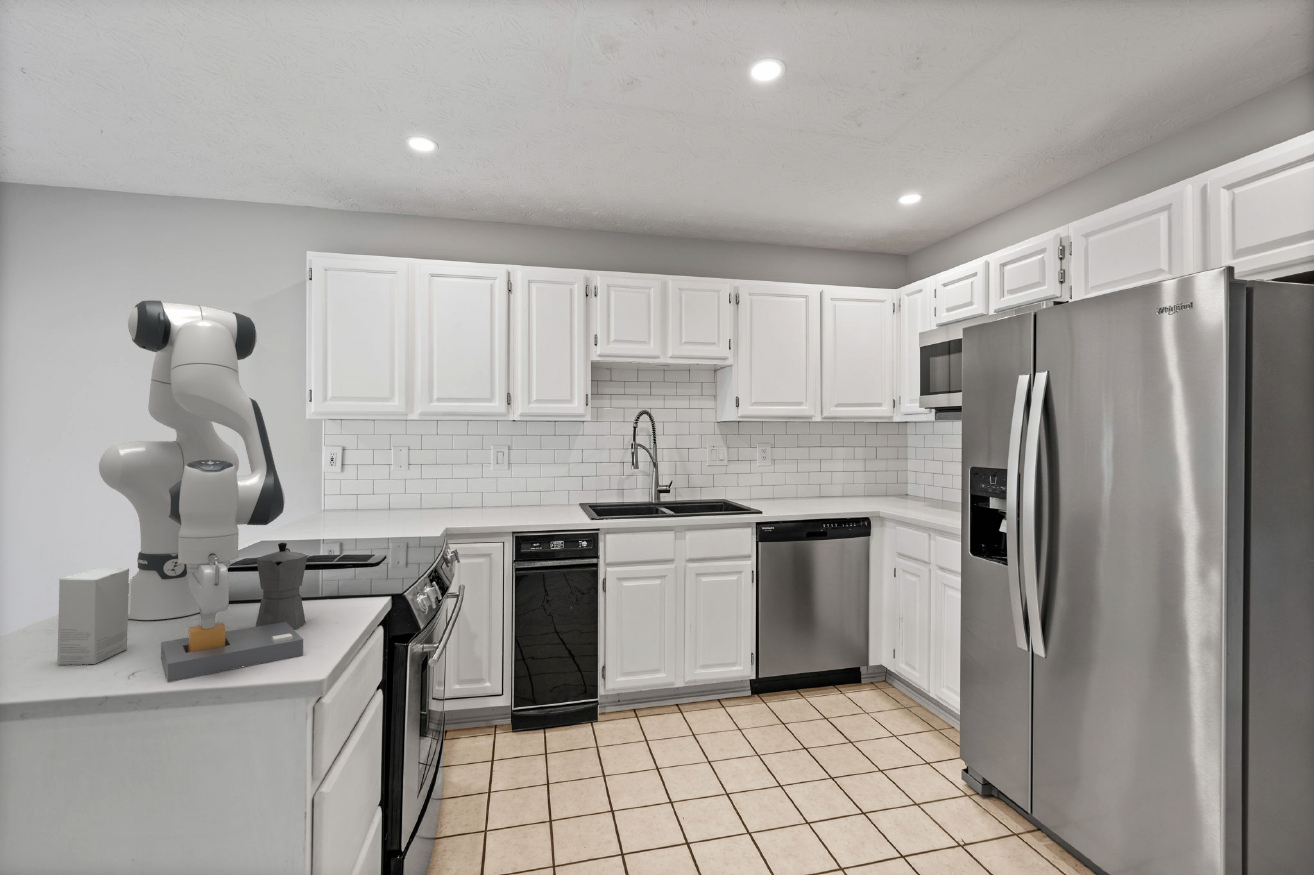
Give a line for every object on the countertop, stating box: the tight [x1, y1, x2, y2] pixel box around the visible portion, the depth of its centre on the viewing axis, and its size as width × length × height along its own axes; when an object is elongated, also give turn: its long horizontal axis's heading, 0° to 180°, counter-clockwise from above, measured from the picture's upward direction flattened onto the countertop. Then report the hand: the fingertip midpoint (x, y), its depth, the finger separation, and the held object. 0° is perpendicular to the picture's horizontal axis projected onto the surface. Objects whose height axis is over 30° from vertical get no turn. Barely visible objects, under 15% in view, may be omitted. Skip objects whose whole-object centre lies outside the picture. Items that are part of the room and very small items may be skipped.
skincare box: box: [56, 567, 130, 666], centre depth 113 cm, size 8×7×16 cm
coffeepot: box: [255, 542, 308, 630], centre depth 134 cm, size 15×9×18 cm, turn 25°
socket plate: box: [160, 622, 304, 683], centre depth 115 cm, size 14×20×4 cm
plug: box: [188, 621, 227, 652], centre depth 112 cm, size 4×5×6 cm
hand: (207, 626), depth 112 cm, fingers closed, pressing on plug
